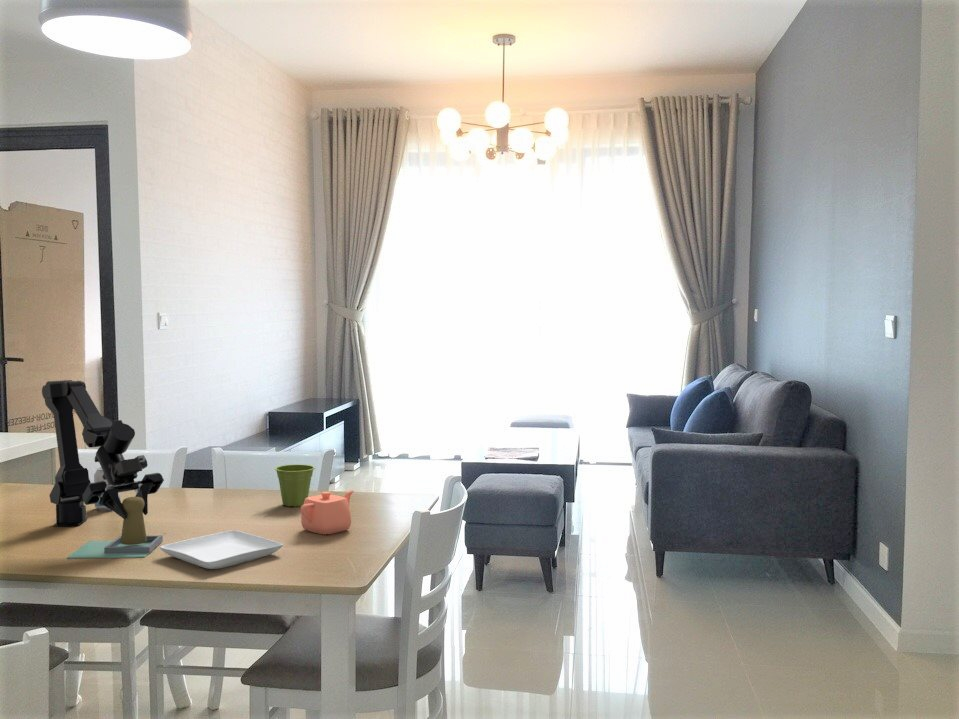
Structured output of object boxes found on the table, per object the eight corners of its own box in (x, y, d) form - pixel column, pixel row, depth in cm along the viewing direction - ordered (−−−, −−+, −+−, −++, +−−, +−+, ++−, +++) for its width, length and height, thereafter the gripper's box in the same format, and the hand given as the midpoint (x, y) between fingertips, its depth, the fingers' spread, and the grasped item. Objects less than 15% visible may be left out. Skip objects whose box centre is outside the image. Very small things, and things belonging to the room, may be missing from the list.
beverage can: (107, 512, 247) (106, 471, 247) (89, 510, 250) (88, 469, 249) (125, 507, 254) (124, 467, 253) (107, 505, 256) (106, 465, 256)
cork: (131, 546, 208) (130, 501, 207) (115, 542, 211) (114, 498, 210) (152, 540, 213) (151, 496, 212) (136, 536, 216) (135, 493, 215)
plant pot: (321, 505, 257) (321, 468, 257) (283, 510, 251) (283, 472, 250) (305, 498, 267) (305, 462, 266) (269, 503, 260) (268, 466, 260)
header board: (66, 558, 203) (66, 551, 203) (89, 542, 217) (89, 535, 217) (146, 557, 204) (146, 550, 204) (163, 541, 218) (163, 534, 218)
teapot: (287, 532, 227) (287, 494, 226) (340, 520, 240) (340, 483, 240) (315, 540, 219) (314, 500, 219) (368, 527, 233) (368, 489, 232)
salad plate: (233, 540, 220) (233, 527, 220) (285, 556, 207) (285, 542, 207) (157, 559, 204) (157, 545, 204) (208, 577, 190) (208, 562, 190)
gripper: (87, 450, 205) (109, 503, 199) (159, 441, 220) (183, 490, 213) (72, 478, 211) (94, 530, 205) (144, 467, 225) (166, 516, 219)
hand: (136, 516), depth 210 cm, fingers closed on cork, 5 cm apart
